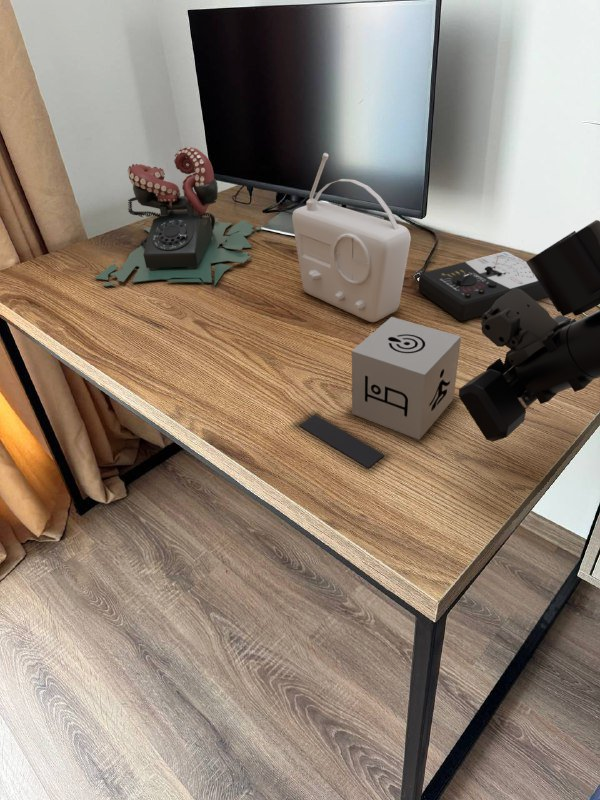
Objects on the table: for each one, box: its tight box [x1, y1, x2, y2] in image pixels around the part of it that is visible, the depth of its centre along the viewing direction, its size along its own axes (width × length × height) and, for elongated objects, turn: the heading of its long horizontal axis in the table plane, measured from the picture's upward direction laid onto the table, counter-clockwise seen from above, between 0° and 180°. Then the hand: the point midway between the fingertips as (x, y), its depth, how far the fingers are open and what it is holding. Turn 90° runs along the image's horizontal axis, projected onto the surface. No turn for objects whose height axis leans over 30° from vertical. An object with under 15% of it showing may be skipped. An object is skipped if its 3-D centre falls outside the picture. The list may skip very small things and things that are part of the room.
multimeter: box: [418, 251, 549, 322], centre depth 102 cm, size 13×19×5 cm
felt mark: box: [298, 414, 385, 469], centre depth 75 cm, size 12×3×1 cm, turn 44°
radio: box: [291, 152, 412, 323], centre depth 97 cm, size 22×8×25 cm, turn 42°
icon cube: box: [351, 316, 462, 441], centre depth 76 cm, size 10×10×10 cm
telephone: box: [93, 146, 262, 287], centre depth 122 cm, size 35×32×20 cm
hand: (473, 397), depth 69 cm, fingers closed
